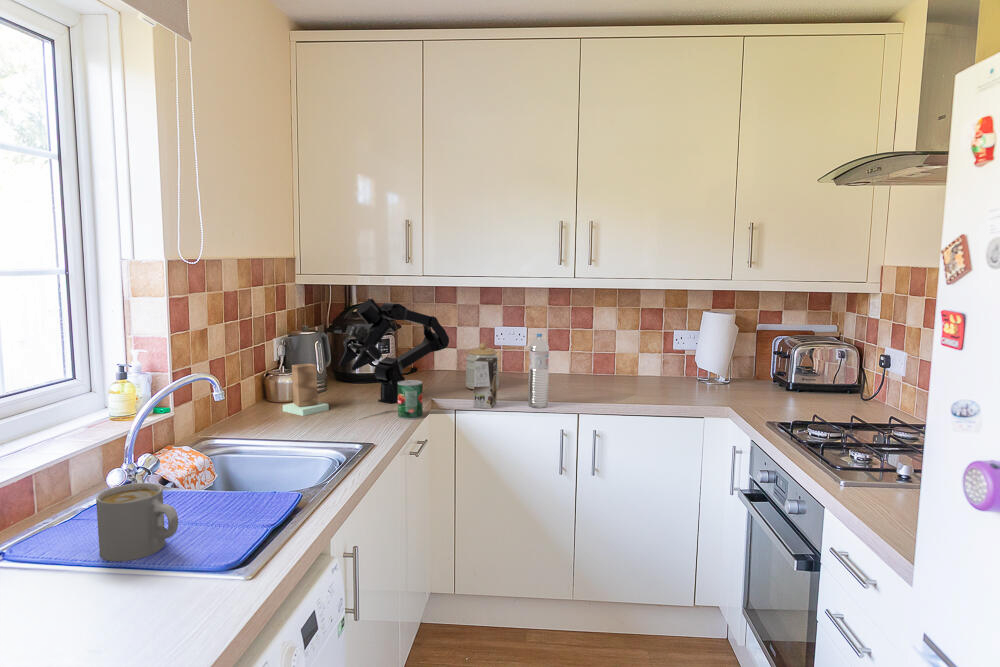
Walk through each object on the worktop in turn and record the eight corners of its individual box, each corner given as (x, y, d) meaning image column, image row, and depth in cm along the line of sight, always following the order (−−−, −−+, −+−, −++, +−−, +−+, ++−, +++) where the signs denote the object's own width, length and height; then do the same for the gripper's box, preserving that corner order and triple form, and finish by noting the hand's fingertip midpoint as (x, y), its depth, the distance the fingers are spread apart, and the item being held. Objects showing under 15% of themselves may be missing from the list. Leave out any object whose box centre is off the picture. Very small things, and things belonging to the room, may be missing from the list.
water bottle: (541, 409, 220) (543, 335, 217) (524, 406, 224) (525, 334, 221) (551, 405, 226) (552, 333, 223) (534, 402, 230) (535, 332, 227)
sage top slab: (328, 410, 210) (328, 404, 210) (303, 416, 202) (302, 409, 202) (308, 405, 216) (308, 399, 216) (282, 411, 208) (282, 405, 208)
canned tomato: (427, 416, 208) (427, 382, 207) (406, 420, 203) (406, 385, 202) (413, 412, 214) (413, 379, 213) (392, 415, 209) (392, 381, 208)
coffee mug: (85, 555, 111) (82, 498, 110) (136, 532, 120) (133, 479, 119) (145, 569, 106) (142, 510, 105) (193, 544, 116) (190, 489, 115)
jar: (467, 384, 261) (467, 340, 259) (499, 385, 260) (500, 341, 258) (464, 391, 248) (464, 345, 246) (498, 391, 248) (498, 345, 245)
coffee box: (491, 408, 220) (492, 361, 218) (473, 407, 221) (473, 360, 220) (497, 402, 229) (497, 357, 227) (479, 401, 230) (479, 356, 228)
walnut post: (312, 401, 213) (310, 363, 212) (318, 404, 209) (316, 365, 207) (293, 403, 210) (291, 365, 209) (299, 406, 205) (297, 367, 204)
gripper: (348, 314, 226) (318, 348, 220) (372, 319, 211) (341, 355, 206) (369, 335, 232) (340, 369, 226) (394, 341, 217) (364, 378, 211)
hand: (345, 367), depth 217 cm, fingers open, 9 cm apart
